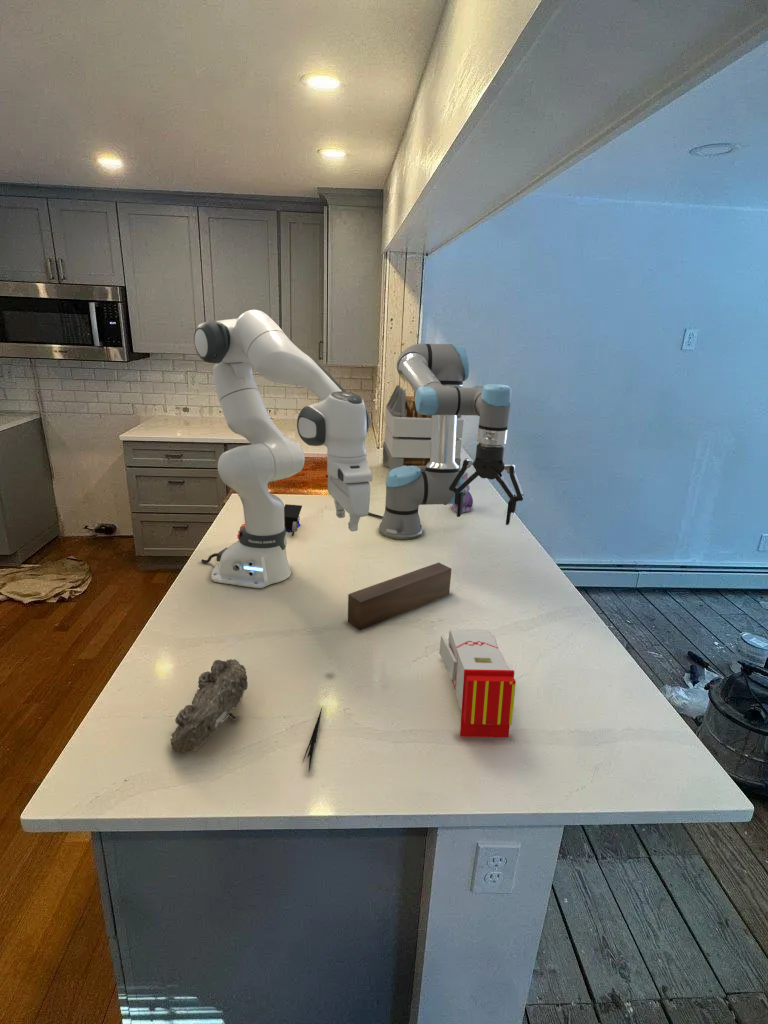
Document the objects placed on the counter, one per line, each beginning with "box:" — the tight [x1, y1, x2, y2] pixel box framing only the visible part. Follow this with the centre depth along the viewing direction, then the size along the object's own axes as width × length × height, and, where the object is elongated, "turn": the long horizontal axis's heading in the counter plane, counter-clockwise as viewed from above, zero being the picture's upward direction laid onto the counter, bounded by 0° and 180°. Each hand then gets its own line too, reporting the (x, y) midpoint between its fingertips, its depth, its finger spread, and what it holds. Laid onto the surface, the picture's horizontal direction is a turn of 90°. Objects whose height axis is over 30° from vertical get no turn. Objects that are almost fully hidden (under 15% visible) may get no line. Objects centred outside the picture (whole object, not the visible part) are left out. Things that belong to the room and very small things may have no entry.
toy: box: [438, 628, 517, 738], centre depth 117 cm, size 12×13×30 cm
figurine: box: [451, 472, 474, 514], centre depth 225 cm, size 9×10×15 cm
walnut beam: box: [347, 562, 453, 632], centre depth 149 cm, size 5×32×8 cm, turn 131°
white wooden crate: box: [381, 384, 464, 472], centre depth 268 cm, size 34×33×41 cm
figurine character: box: [284, 503, 303, 537], centre depth 197 cm, size 7×8×15 cm
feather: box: [301, 673, 332, 771], centre depth 108 cm, size 2×28×2 cm
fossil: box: [170, 658, 249, 753], centre depth 106 cm, size 22×10×15 cm
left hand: (346, 523), depth 132 cm, fingers open, 8 cm apart
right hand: (483, 519), depth 157 cm, fingers open, 13 cm apart
